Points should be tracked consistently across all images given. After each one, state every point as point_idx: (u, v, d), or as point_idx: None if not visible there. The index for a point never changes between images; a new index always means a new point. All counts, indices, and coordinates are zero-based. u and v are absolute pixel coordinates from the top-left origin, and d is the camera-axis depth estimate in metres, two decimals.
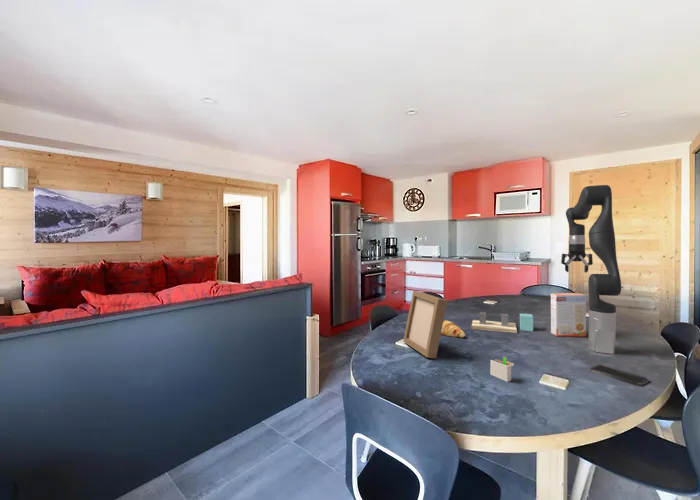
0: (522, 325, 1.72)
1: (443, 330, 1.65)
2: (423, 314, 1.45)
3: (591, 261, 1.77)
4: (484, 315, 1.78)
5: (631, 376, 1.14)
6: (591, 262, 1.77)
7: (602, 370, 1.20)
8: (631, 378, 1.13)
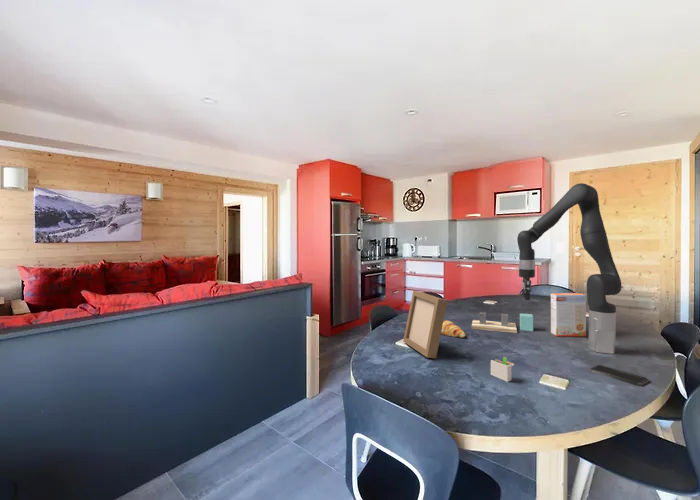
0: (522, 325, 1.72)
1: (443, 330, 1.65)
2: (423, 314, 1.45)
3: None
4: (484, 315, 1.78)
5: (631, 376, 1.14)
6: None
7: (602, 370, 1.19)
8: (631, 378, 1.13)
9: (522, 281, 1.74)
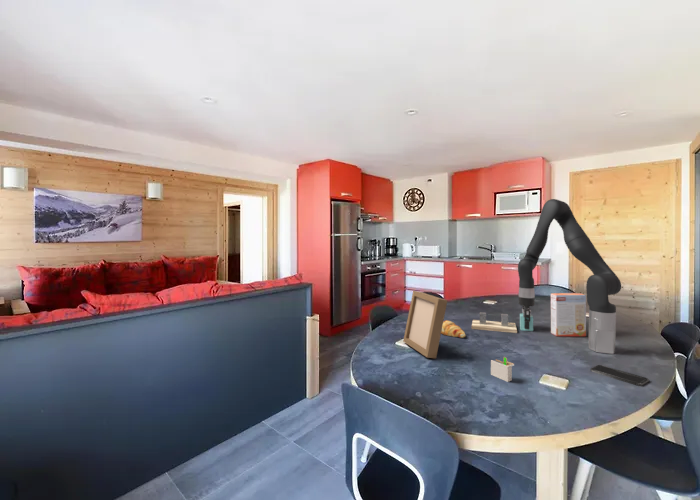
0: (522, 325, 1.72)
1: (444, 330, 1.66)
2: (423, 314, 1.45)
3: None
4: (484, 315, 1.78)
5: (631, 376, 1.14)
6: None
7: (602, 370, 1.19)
8: (631, 378, 1.13)
9: (522, 309, 1.75)
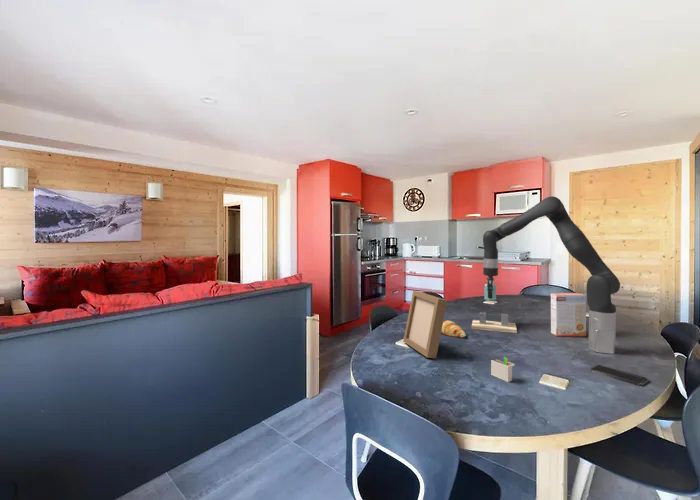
0: (486, 294, 1.77)
1: (444, 330, 1.66)
2: (423, 314, 1.45)
3: None
4: (484, 315, 1.78)
5: (631, 376, 1.14)
6: None
7: (602, 370, 1.19)
8: (631, 378, 1.13)
9: None
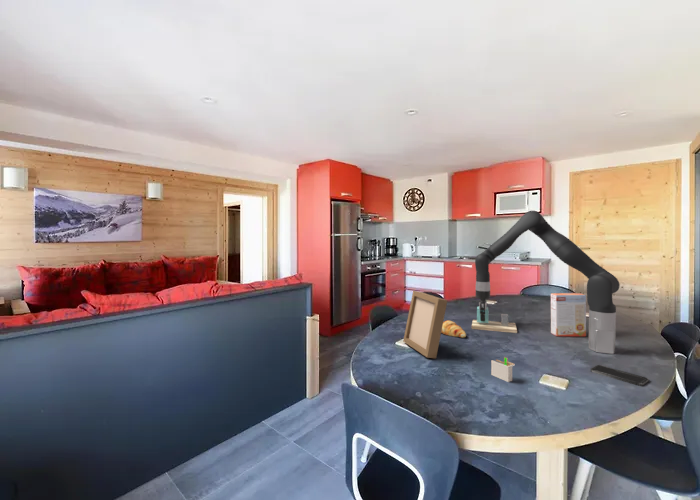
0: (478, 317, 1.78)
1: (444, 330, 1.66)
2: (423, 314, 1.45)
3: None
4: None
5: (631, 376, 1.14)
6: None
7: (602, 370, 1.19)
8: (631, 378, 1.13)
9: (479, 302, 1.81)
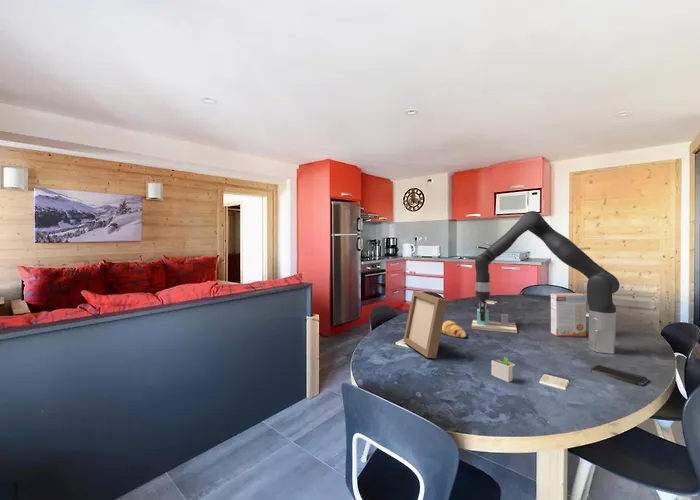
0: (478, 320, 1.78)
1: (444, 330, 1.66)
2: (423, 314, 1.45)
3: None
4: None
5: (631, 376, 1.14)
6: None
7: (602, 370, 1.19)
8: (631, 378, 1.13)
9: (479, 302, 1.81)
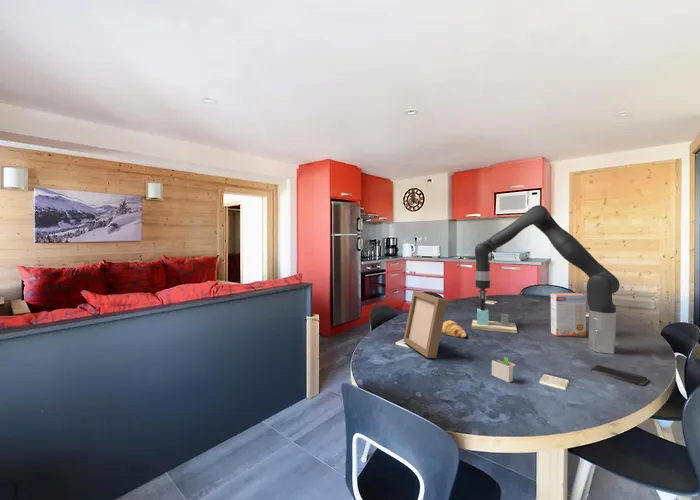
0: (478, 320, 1.78)
1: (445, 330, 1.66)
2: (423, 314, 1.45)
3: None
4: None
5: (631, 376, 1.14)
6: (485, 299, 1.82)
7: (602, 370, 1.19)
8: (631, 378, 1.13)
9: (479, 291, 1.81)
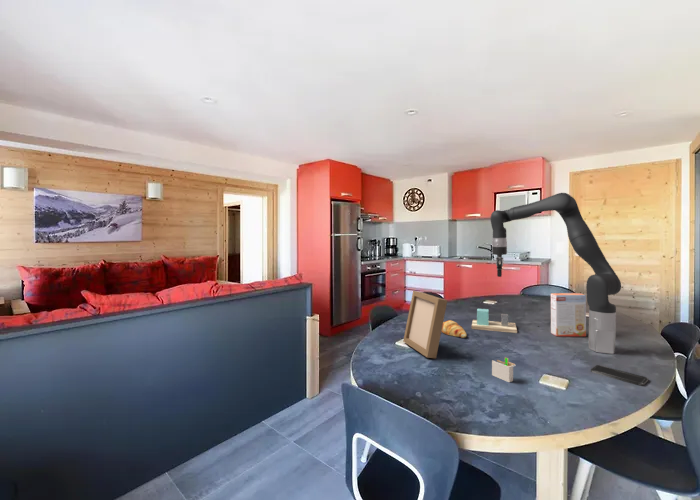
0: (478, 320, 1.78)
1: (445, 330, 1.66)
2: (423, 314, 1.45)
3: (501, 265, 1.86)
4: None
5: (631, 376, 1.15)
6: (501, 266, 1.86)
7: (602, 370, 1.19)
8: (631, 377, 1.13)
9: None
